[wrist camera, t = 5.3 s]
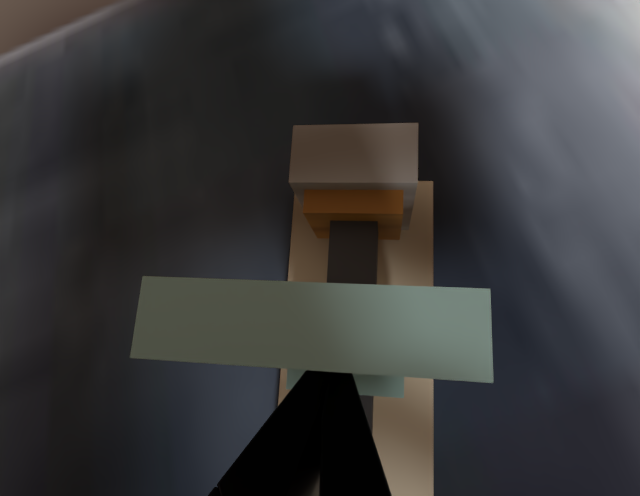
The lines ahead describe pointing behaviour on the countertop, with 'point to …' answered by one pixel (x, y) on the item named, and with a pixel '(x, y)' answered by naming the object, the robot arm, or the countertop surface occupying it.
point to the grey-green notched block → (319, 329)
